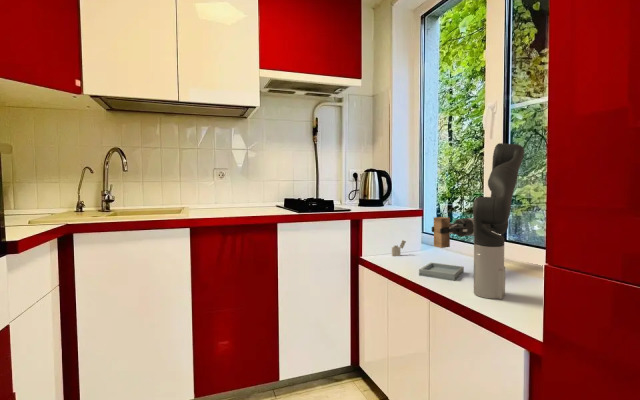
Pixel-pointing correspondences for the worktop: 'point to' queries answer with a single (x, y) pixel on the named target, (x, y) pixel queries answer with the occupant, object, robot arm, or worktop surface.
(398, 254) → the lighter
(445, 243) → the tall wooden block
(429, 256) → the worktop surface
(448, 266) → the tray
